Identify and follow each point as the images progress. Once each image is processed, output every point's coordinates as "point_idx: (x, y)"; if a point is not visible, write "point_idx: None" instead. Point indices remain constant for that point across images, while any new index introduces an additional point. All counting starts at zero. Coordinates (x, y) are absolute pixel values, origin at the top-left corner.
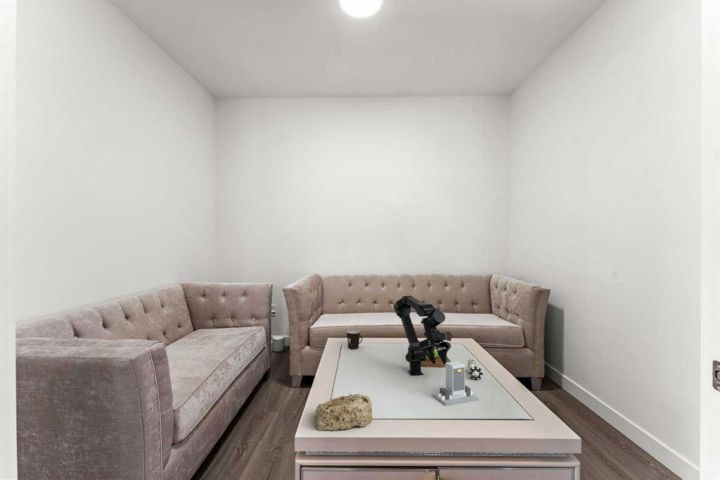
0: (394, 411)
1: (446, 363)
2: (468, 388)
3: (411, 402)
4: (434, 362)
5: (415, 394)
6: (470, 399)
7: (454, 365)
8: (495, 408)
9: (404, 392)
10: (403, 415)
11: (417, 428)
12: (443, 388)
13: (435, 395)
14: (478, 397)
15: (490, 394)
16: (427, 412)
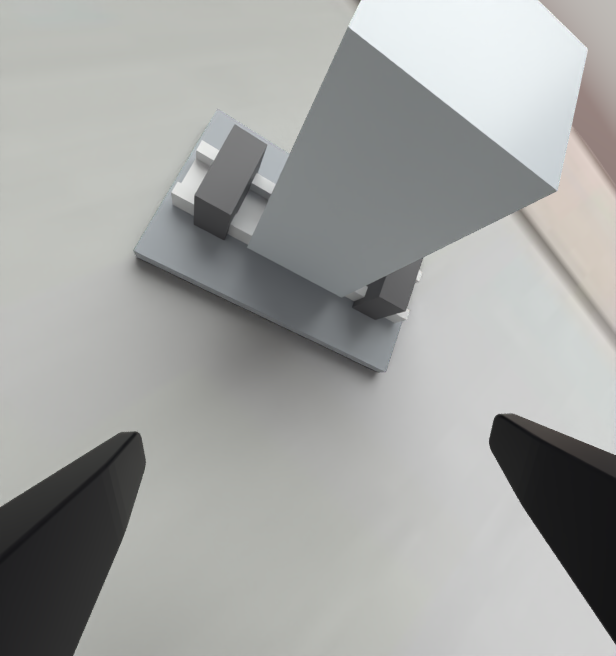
0: (596, 391)
1: (560, 168)
2: (253, 137)
3: (502, 402)
4: (527, 427)
5: (422, 465)
6: (278, 149)
7: (548, 32)
8: (259, 18)
9: (446, 536)
10: (591, 340)
11: (607, 244)
12: (390, 287)
13: (387, 343)
14: (216, 110)
15: (38, 68)
16: (517, 281)
